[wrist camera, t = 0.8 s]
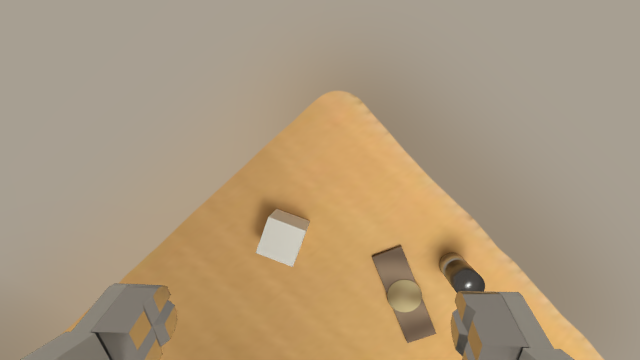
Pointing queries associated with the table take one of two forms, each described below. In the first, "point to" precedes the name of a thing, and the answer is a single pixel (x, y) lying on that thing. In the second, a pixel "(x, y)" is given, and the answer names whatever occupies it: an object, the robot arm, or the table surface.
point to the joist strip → (403, 294)
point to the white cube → (282, 237)
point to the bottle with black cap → (461, 274)
